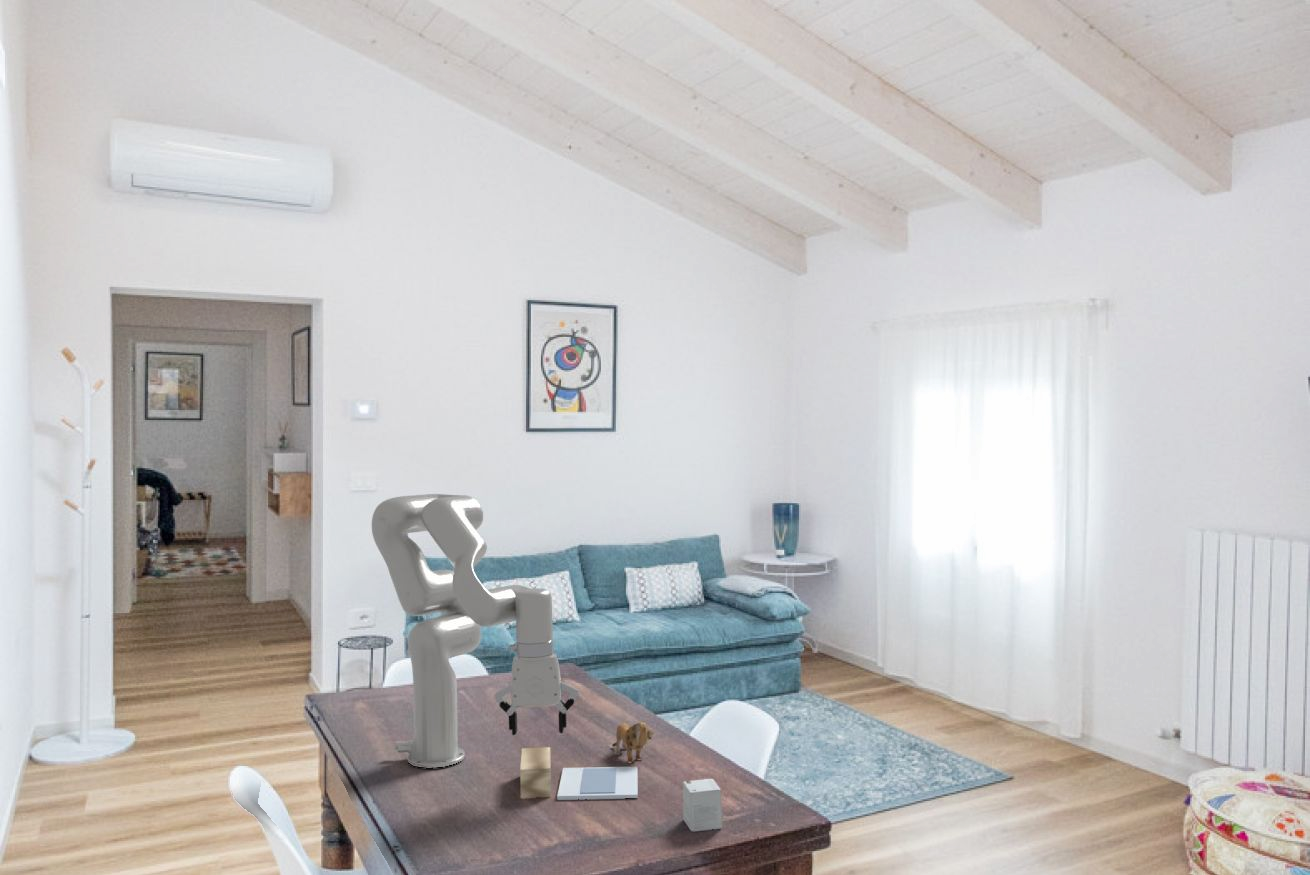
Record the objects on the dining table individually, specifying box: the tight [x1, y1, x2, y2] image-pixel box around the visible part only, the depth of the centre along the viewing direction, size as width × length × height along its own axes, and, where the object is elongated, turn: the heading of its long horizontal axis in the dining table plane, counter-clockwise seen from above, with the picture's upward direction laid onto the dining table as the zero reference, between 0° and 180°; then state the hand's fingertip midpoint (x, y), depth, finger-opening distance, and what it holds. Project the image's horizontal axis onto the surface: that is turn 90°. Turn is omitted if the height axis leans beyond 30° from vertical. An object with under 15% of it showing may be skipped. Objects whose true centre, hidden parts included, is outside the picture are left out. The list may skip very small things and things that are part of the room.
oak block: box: [519, 746, 552, 799], centre depth 204 cm, size 6×13×6 cm, turn 6°
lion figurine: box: [611, 722, 655, 763], centre depth 221 cm, size 15×5×9 cm, turn 34°
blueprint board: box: [556, 766, 639, 801], centre depth 204 cm, size 16×16×1 cm
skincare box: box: [682, 778, 723, 832], centre depth 184 cm, size 6×6×7 cm
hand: (538, 732), depth 204 cm, fingers open, 9 cm apart
